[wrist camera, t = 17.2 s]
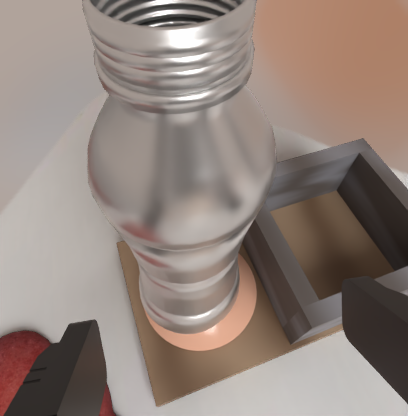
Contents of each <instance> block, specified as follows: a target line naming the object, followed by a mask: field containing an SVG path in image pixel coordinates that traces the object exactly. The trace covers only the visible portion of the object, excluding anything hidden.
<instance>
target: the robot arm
mask: <svg viewBox="0 0 408 416" xmlns="http://www.w3.org/2000/svg"><path fill="white" fill-rule="evenodd" d="M342 325H343V329H344V332H345V335H346V337H347V339H348V340H349V342H350V343H351V344H352V345H353V346H354V347H355V348H356V349H357V350H358V351H359V352H360V353H361V355H362V356H363V357H364V358H365V359H366V360H367V361H368V362H369V363H370V364H371V365H372V366H373V367H374V368H375V369H376V371H377V372H378V373H379V374H380V375H381V376H382V377H383V378H384V379H385V380H386V381H387V382H388V383H389V384H390V385H391V387H392V388H393V389H394V390H395V391H396V392H397V393H398V394H399V395H400V396H401V397H402V398H403V399H404V400H405V401H406V402H407V404H408V296H407V295H405V294H403V293H400V292H397V291H394V290H392V289H389V288H386V287H385V286H383V285H382V284H380V283H379V282H377V281H375V280H374V279H372V278H371V277H369V276H362V277H356V278H350V279H345V280H344V281H343V282H342ZM29 371H30V372H29V373H28V374H27V375H26V377H25V379H24V381H23V385H21V386H20V387H19V389H18V391H17V393H16V394H15V396H14V398H13V400H12V401H11V403H10V405H9V406H8V408H7V410H6V412H5V413H4V415H3V416H99V413H100V409H101V405H102V400H103V396H104V392H105V387H106V378H107V372H106V362H105V357H104V352H103V347H102V342H101V337H100V332H99V327H98V324H97V321H96V320H89V321H83V322H76V323H71V324H69V325H68V327H67V329H66V331H65V333H64V335H63V337H62V339H61V341H60V342H59V343H53V344H51V345H49V346H48V347H47V348H46V349H45V350H44V351H43V352H42V353H41V354H40V355H38V356H37V358H36V360H35V362H34V363H33V365H32V367H31V368H30V370H29Z"/></svg>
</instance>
